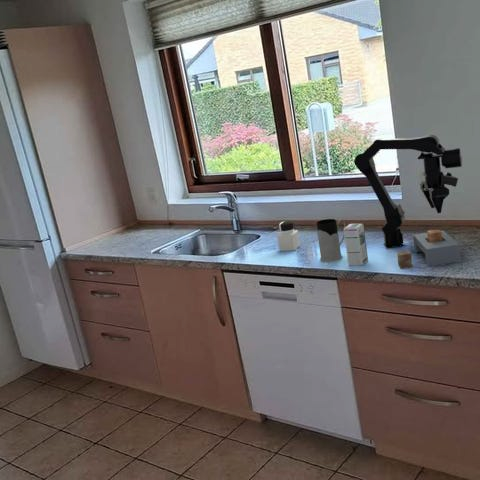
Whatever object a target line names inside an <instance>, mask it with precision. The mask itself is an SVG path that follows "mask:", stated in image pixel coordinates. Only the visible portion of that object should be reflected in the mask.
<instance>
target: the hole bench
mask: <svg viewBox="0 0 480 480" xmlns="http://www.w3.org/2000/svg"><path fill="white" fill-rule="evenodd" d="M440 231H441V232H442V241H438V242H431V243H428V235H427V232H423V233H417V234H412V235H413V236H412V237H413V246H414V251H415V252H416V253H419V252H423V253H424V259H425V264H426V265H427V266H428V267H429V266H438V265H444V263H445V264H450V263H457V262H462V258H461V246H460V243H459V242H458V241H456V240H455V239H454V238H453V237H452V236H451V235H449V234H448V233H447V232H446V231H445V230H440ZM437 264H438V265H437Z"/></svg>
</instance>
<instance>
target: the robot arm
mask: <svg viewBox="0 0 480 480" xmlns="http://www.w3.org/2000/svg"><path fill="white" fill-rule="evenodd" d="M381 150H412V151H417V152H420V155H418V157H417V160H422V161H423V169H424V172H423V173H422V175H423V176H424V180H422V181H421V182H420V184H419V187H420V190H421V192H422V194H423V196H424V197H425V199H426V201H427V203H428V204H429V207H431V209H435V210H436V212H437V214H441V213H442V209H443V205H444V200H445V199H446V198H447V197H448V196H449V195H450V189H449V188H448V187H446V186H445V185H448V186H452V187H455V188H456V187H457V183H458V180H459V177H456V176H453V175H452V173H451V172H447V171H446V172H443V171H442V169H441V168H442V167H443V168H445V169H452V168H462V166H463V157H462V153H461V148H460V147H459V148H458V147H457V148H451V149H446V148H445V147H444V146H443V145H442V144H441V143H440V139H439V138H438V137H437V136H436V135H434V134H428V135H427V134H426V135H422V136H418V137H412V138H411V137H410V138H406V137H405V138H382V137H380V138H377V139H375V140H374V141H373V142H372V143H371V145H369V147H368V148H367V149H365V150H364V151H363V150H362V152H359V153H358V154H357V155H356V156H355V157H354V160H353V162H354V166H355V167H356V168H357V169H358V171H359V172H361V174H362V175H363V176H365V177H366V179H367V181H368V183H369V185H370V187H371V189H372V190H373V192H374V194H375V196H376V197H377V199H378V201H379V203H380V205H381V206H382V208H383V213H384V218H385V220H386V222H385V223H384V225H383V226H382V228H381V230H382V232H383V240H384V242H383V245H384V246H385V248H386V249H389V248H397V247H403V246H404V236H403V233H402V231H401V229H400V227H402V226H401V225H403V223H404V221H405V218H406V217H405V213H406V211H404V210H403V207H402V205H401V204H400V203H399V204H396V203H394V201H393V200H392V197H391V196H390V194H389V192H388V191H387V188H386V187H385V185H384V183H383V180H382V179H381V178H380V176H379V174H378V172H377V169H376V163H375V160H374V157H375V156H376V155H377V154H378V153H379V151H381ZM441 166H442V167H441Z"/></svg>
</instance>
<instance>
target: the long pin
mask: <svg viewBox="0 0 480 480" xmlns="http://www.w3.org/2000/svg"><path fill="white" fill-rule="evenodd" d="M441 231H442V230H440V229H429V230H427V231H426V233H427V235H428V243H431V242H438V241H442V232H441Z"/></svg>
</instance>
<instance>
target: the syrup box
mask: <svg viewBox="0 0 480 480" xmlns="http://www.w3.org/2000/svg"><path fill="white" fill-rule="evenodd" d="M343 235H344V243H345V249H346V255H347V263H348V265H349V266H364V265H365V264H366V263H367V262H368V261H369V257H368V256H369V255H368V251H367V250H368V249H367V242H366V236H365V235H366V233H365V227H364V223H356V222H355V223H348V225H346V227H345V228H344V227H343Z"/></svg>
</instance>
